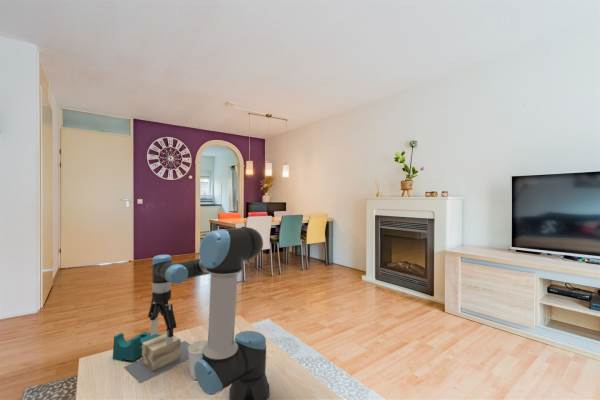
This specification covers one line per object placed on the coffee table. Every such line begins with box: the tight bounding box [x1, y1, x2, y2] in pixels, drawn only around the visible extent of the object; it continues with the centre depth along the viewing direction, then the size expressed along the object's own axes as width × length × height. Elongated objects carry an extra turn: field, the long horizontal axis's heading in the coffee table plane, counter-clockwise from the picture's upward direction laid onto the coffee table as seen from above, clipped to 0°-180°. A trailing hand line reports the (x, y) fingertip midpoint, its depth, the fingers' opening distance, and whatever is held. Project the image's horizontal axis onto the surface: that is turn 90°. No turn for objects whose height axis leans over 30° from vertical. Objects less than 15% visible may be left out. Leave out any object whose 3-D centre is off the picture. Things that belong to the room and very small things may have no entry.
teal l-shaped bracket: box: [112, 331, 162, 362], centre depth 133 cm, size 18×11×10 cm, turn 167°
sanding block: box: [141, 333, 182, 372], centre depth 124 cm, size 10×12×9 cm
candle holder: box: [187, 340, 208, 382], centre depth 118 cm, size 10×10×12 cm
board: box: [123, 340, 192, 384], centre depth 126 cm, size 16×28×2 cm, turn 143°
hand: (161, 338), depth 124 cm, fingers open, 13 cm apart
